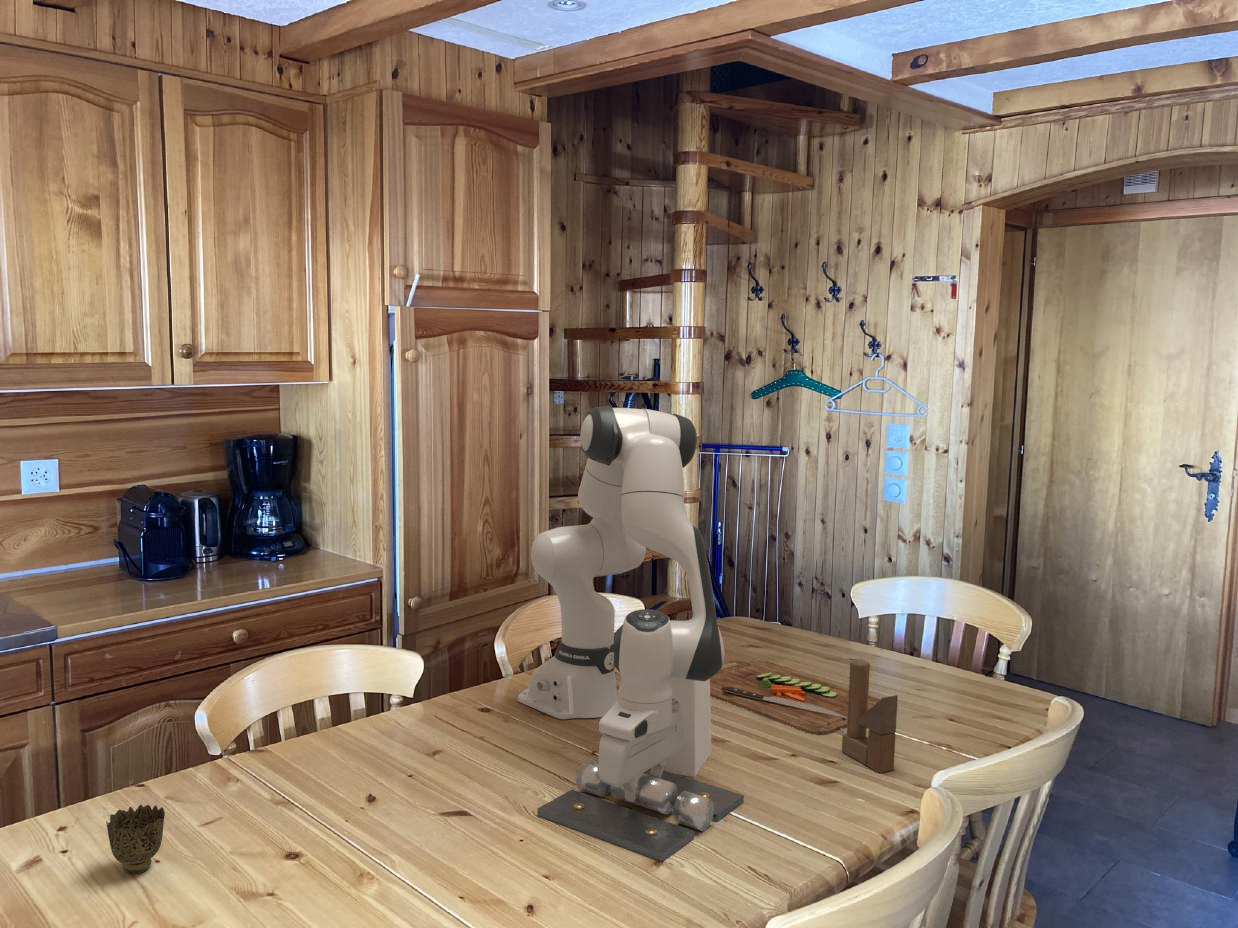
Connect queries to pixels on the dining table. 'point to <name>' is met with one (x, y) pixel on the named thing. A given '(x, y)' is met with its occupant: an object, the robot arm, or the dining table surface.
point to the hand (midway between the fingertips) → (642, 792)
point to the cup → (136, 836)
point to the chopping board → (785, 696)
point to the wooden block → (869, 723)
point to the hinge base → (633, 827)
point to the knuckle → (651, 793)
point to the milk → (692, 726)
